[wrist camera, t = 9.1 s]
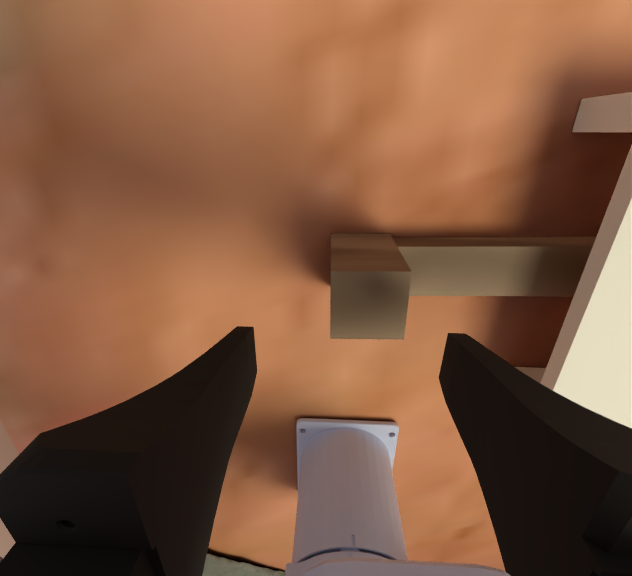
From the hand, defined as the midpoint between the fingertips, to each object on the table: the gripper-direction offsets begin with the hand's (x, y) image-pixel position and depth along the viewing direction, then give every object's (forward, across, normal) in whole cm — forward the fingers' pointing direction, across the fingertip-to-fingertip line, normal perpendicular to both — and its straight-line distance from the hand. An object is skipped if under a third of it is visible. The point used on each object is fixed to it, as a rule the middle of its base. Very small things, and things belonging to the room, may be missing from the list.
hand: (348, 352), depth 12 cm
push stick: (+9, -8, 0) cm, 12 cm away
